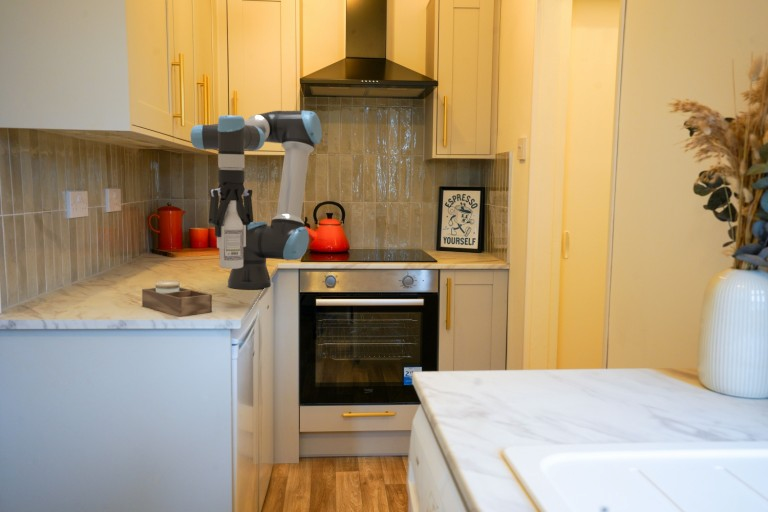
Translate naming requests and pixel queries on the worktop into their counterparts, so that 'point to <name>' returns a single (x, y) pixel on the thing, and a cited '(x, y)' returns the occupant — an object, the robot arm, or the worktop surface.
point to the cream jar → (167, 286)
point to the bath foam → (232, 239)
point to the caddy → (177, 301)
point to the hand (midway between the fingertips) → (231, 247)
